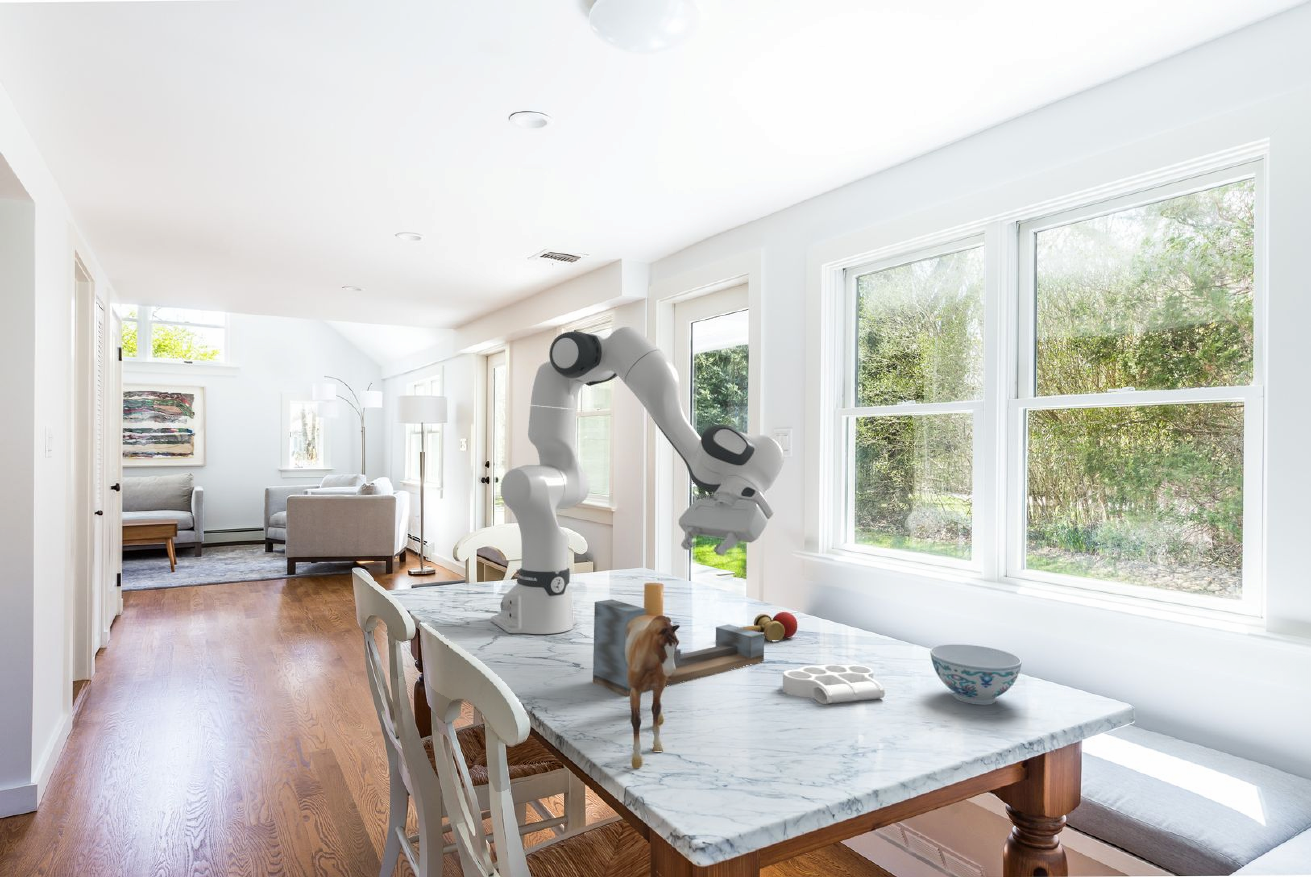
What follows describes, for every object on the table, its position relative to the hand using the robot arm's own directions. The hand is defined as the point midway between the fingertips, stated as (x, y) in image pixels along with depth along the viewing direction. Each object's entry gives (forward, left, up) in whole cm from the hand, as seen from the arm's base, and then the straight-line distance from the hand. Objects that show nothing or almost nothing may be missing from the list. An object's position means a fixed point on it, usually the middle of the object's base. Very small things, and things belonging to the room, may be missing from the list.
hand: (701, 550), depth 149 cm
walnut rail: (0, -4, -23) cm, 24 cm away
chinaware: (+43, +27, -23) cm, 56 cm away
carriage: (0, -12, -20) cm, 23 cm away
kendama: (-8, +28, -24) cm, 37 cm away
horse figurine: (+23, -29, -23) cm, 44 cm away
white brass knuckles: (+25, +10, -24) cm, 36 cm away
